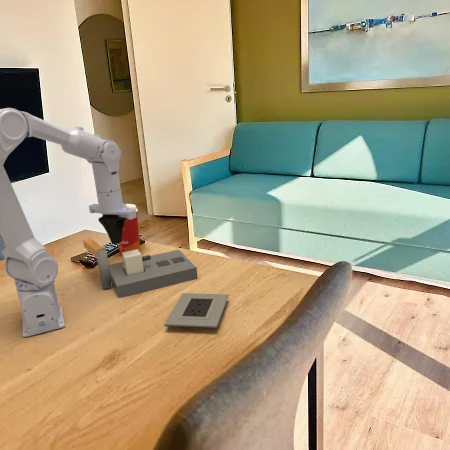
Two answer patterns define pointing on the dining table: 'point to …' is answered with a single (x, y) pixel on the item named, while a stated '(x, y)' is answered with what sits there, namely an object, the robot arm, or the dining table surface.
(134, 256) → the plug
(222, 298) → the electrical outlet
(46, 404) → the dining table surface
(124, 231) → the paper cup
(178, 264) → the power block
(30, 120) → the robot arm
